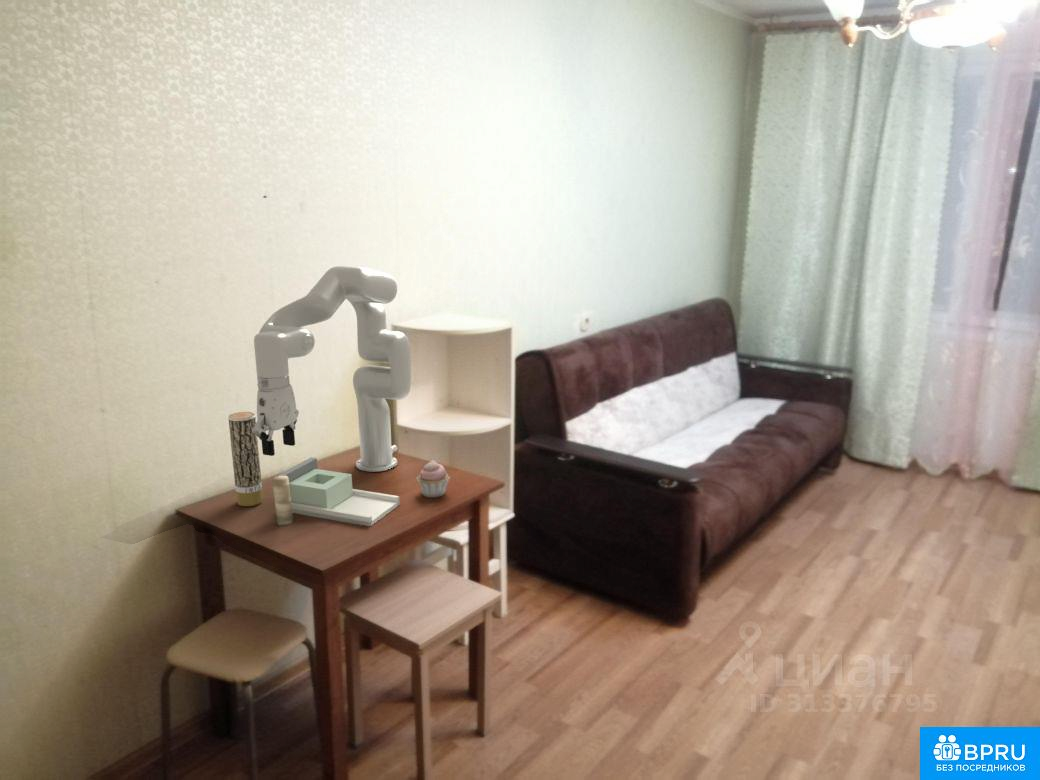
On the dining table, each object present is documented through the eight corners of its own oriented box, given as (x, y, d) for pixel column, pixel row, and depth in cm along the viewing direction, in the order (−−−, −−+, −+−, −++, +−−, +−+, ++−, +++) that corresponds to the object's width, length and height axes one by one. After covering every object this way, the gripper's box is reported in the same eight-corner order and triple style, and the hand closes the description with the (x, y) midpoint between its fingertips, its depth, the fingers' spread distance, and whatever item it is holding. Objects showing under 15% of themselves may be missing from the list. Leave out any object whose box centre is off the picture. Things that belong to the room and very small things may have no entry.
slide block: (316, 488, 221) (314, 468, 219) (352, 494, 217) (351, 474, 215) (289, 504, 210) (287, 483, 209) (327, 511, 206) (325, 489, 204)
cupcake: (450, 486, 226) (449, 454, 224) (450, 499, 217) (449, 465, 215) (417, 487, 226) (416, 455, 223) (416, 500, 217) (414, 466, 214)
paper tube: (231, 504, 214) (222, 417, 207) (249, 496, 219) (241, 410, 213) (250, 509, 211) (241, 420, 204) (268, 500, 217) (260, 413, 210)
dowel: (284, 517, 205) (279, 474, 202) (296, 519, 204) (291, 476, 201) (273, 523, 202) (268, 480, 199) (286, 526, 200) (281, 482, 197)
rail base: (313, 490, 223) (310, 457, 221) (399, 504, 214) (398, 470, 211) (279, 510, 210) (276, 475, 207) (370, 526, 200) (368, 490, 198)
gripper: (262, 392, 184) (269, 462, 189) (307, 375, 200) (312, 441, 204) (237, 389, 187) (243, 459, 191) (283, 372, 202) (288, 438, 207)
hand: (279, 449), depth 198 cm, fingers open, 7 cm apart
